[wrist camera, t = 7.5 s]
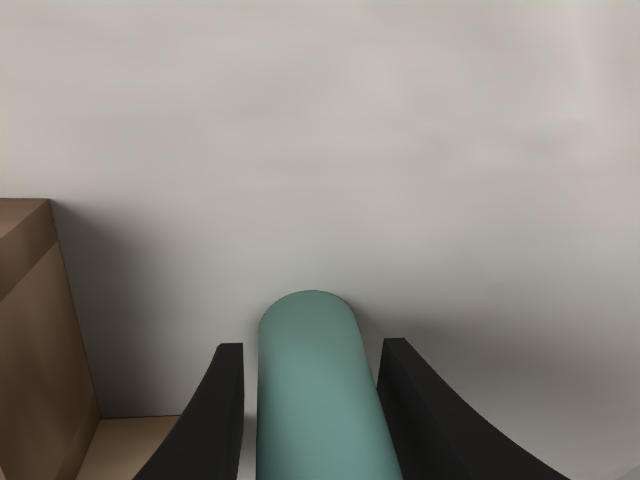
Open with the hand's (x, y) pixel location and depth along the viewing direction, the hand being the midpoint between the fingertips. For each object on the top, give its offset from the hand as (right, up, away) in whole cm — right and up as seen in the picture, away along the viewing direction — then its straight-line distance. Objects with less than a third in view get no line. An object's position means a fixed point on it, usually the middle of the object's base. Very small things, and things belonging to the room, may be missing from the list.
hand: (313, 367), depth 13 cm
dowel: (0, +1, +1) cm, 2 cm away
